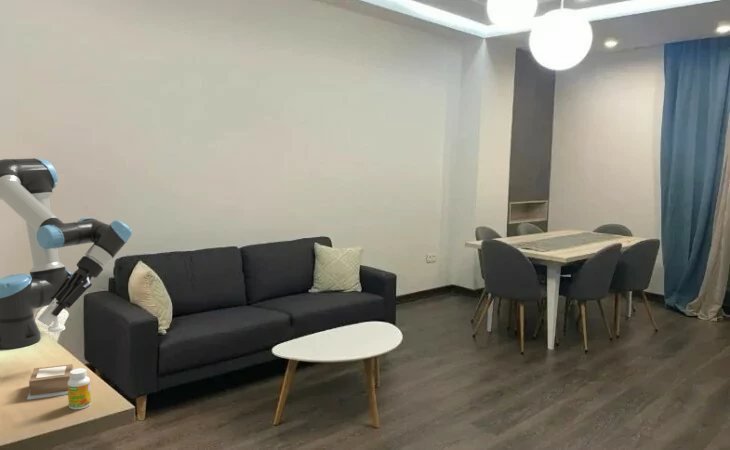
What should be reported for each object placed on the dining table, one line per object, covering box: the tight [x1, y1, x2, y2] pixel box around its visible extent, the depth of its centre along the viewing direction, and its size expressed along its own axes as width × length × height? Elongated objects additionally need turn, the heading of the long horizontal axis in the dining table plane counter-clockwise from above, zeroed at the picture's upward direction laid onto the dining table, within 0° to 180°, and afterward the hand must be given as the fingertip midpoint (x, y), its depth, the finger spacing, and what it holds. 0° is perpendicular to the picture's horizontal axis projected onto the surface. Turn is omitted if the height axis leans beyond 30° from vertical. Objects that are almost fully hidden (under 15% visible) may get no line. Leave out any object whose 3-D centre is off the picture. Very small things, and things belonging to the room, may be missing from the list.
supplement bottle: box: [67, 367, 92, 410], centre depth 156 cm, size 5×5×10 cm
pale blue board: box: [27, 368, 75, 401], centre depth 170 cm, size 18×11×1 cm, turn 23°
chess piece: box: [47, 298, 66, 333], centre depth 183 cm, size 5×5×10 cm
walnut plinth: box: [28, 363, 74, 396], centre depth 167 cm, size 10×10×5 cm
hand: (43, 322), depth 180 cm, fingers closed on chess piece, 2 cm apart
